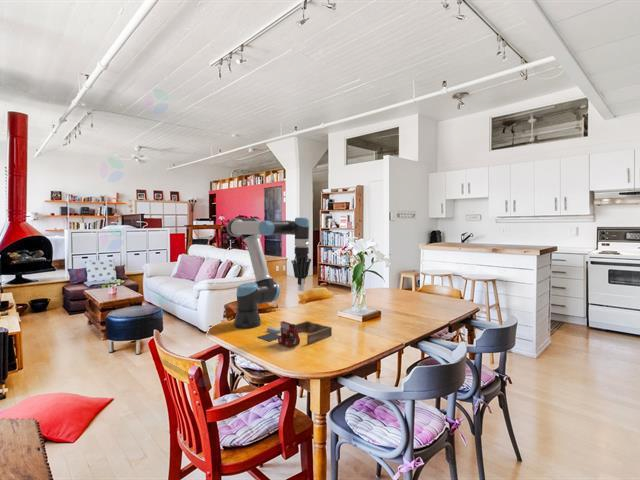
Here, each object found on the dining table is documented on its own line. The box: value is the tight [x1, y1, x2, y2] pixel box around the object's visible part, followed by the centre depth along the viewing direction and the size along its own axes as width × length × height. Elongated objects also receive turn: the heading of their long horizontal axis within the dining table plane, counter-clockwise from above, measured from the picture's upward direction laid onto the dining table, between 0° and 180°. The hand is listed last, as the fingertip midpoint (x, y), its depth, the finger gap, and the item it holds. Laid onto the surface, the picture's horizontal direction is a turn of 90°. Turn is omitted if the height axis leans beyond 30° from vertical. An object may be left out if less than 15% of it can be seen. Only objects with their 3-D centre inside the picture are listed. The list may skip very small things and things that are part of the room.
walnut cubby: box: [295, 320, 333, 345], centre depth 186 cm, size 17×17×4 cm
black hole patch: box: [257, 332, 280, 342], centre depth 184 cm, size 9×9×1 cm
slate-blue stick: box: [266, 326, 281, 335], centre depth 193 cm, size 8×2×2 cm, turn 48°
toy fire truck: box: [277, 320, 301, 348], centre depth 174 cm, size 7×12×10 cm, turn 44°
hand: (301, 290), depth 192 cm, fingers closed
